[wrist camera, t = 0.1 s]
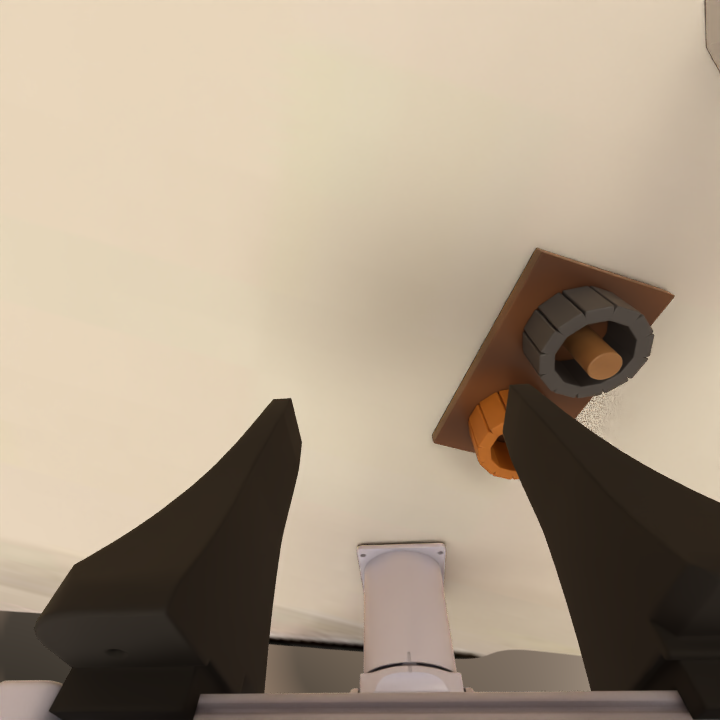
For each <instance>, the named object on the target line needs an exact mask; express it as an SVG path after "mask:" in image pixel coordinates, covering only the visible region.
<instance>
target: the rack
mask: <svg viewBox="0 0 720 720" xmlns="http://www.w3.org/2000/svg"><path fill="white" fill-rule="evenodd" d="M583 286H589V287H590V286H594V287H597V288H600V289H603V290H607V291H610V292H612V293H613V294H615V295H616V296H618V297H619V298H621V299H622V300H623V301H625V302H626V303H628V304H629V305H630V306H632V307H633V308H635V309H636V310H638V311H639V312H640V313H641V314H643V315H644V316H645V318H646V320H647V322H648V323H649V325H650V326H651V325H652V324H653V322H654V321H655V320H656V319H657V318H658V316H659V315H660V314H661V313H662V311H663V310H664V309H665V308H666V306H667V305H668V304H669V303H670V302H671V300H672V299H673V298H674V295H673V294H671V293H669V292H668V291H666V290H663V289H660V288H657V287H654V286H651V285H648V284H645V283H642V282H639V281H636V280H633V279H630V278H627V277H624V276H621V275H618V274H615V273H612V272H609V271H606V270H602V269H599V268H596V267H593V266H590V265H587V264H584V263H581V262H578V261H575V260H572V259H569V258H566V257H563V256H560V255H557V254H554V253H551V252H548V251H545V250H542V249H539V248H536V249H535V251H534V253H533V255H532V257H531V258H530V260H529V262H528V264H527V266H526V267H525V269H524V271H523V273H522V275H521V276H520V278H519V280H518V282H517V284H516V285H515V287H514V289H513V291H512V293H511V294H510V296H509V298H508V300H507V302H506V303H505V305H504V307H503V309H502V311H501V312H500V314H499V316H498V318H497V320H496V321H495V323H494V325H493V327H492V329H491V330H490V332H489V334H488V336H487V337H486V339H485V341H484V343H483V345H482V346H481V348H480V350H479V352H478V354H477V355H476V357H475V359H474V361H473V363H472V364H471V366H470V368H469V370H468V372H467V373H466V375H465V377H464V379H463V381H462V382H461V384H460V386H459V388H458V390H457V391H456V393H455V395H454V397H453V399H452V400H451V402H450V404H449V406H448V408H447V409H446V411H445V413H444V415H443V417H442V418H441V420H440V422H439V424H438V426H437V427H436V429H435V431H434V433H433V435H432V438H433V442H434V443H436V444H440V445H444V446H448V447H452V448H457V449H461V450H465V451H469V452H473V453H476V452H475V449H474V446H473V443H472V440H471V437H470V433H469V424H468V421H469V417H470V416H471V414H472V412H473V411H474V409H475V407H476V406H477V405H480V403H479V402H481V401H482V400H484V399H486V398H487V397H489V396H490V395H492V394H494V393H495V392H497V393H498V394H499V391H502V390H508V389H509V385H516V384H530V385H531V386H533V387H534V388H535V389H537V390H538V391H539V392H541V393H542V394H543V395H544V396H546V397H547V398H548V399H549V400H551V401H552V402H553V403H554V404H556V405H557V406H558V407H559V408H561V409H562V410H563V411H565V412H566V413H567V414H569V415H570V416H571V417H573V418H574V419H575V418H576V417H577V416H578V414H579V413H580V412H581V411H582V409H583V408H584V407H585V406H586V405H587V403H588V402H589V401H590V400H591V398H592V397H593V396H589V397H583V398H577V397H575V398H572V397H568V396H565V395H561V394H557V393H554V392H553V391H551V390H550V389H549V388H548V387H547V386H546V384H545V383H544V382H543V381H542V380H541V378H540V377H539V376H538V374H537V373H536V371H535V370H534V368H533V367H532V365H531V364H530V362H529V361H528V359H527V357H526V356H525V354H524V353H523V352H524V351H523V332H524V331H525V330H524V327H525V325H526V324H527V322H528V320H529V319H530V317H531V316H532V314H533V312H534V311H535V310H539V309H538V306H540V305H541V304H543V303H544V302H545V301H547V300H548V299H550V298H551V297H553V296H554V295H556V294H557V293H561V294H562V292H563V291H564V290H568V289H573V288H578V287H583ZM539 311H540V310H539ZM607 327H608V321H605V322H599V323H594V324H588V325H586V326H584V327H583V328H581V329H580V330H578V331H576V332H575V333H573V334H572V335H570V336H568V337H567V338H566V340H565V341H564V342H563V344H562V345H561V347H560V348H559V350H558V351H557V353H556V354H555V360H557V361H566V360H571V359H575V360H576V361H577V362H578V363H579V365H580V366H581V367H582V368H583V369H584V370H585V372H586V373H587V374H588V375H589V376H590V377H591V378H593V379H597V380H602V379H607V378H610V377H612V376H613V375H615V374H616V373H617V372H618V371H619V370H620V368H621V366H622V358H621V356H620V355H619V354H618V353H617V352H616V351H615V350H614V349H612V348H611V347H610V346H609V345H608V344H607V343H606V342H605V341H604V340H603V339H602V338H603V337H604V336H605V334H606V333H607ZM496 441H499V442H505V439H504V435H503V434H502V435H500V436H499V437H498V438H497V439H496Z"/></svg>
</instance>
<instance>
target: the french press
mask: <svg viewBox="0 0 720 720" xmlns="http://www.w3.org/2000/svg"><path fill="white" fill-rule="evenodd" d="M706 40H707V49H708V51H709V52H710V54H711V56H712V58H713V60H714V61H715V63H716V65H717V67H718V69H719V70H720V0H706Z"/></svg>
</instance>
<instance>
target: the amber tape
mask: <svg viewBox="0 0 720 720" xmlns="http://www.w3.org/2000/svg"><path fill="white" fill-rule="evenodd" d="M508 392H509V389H508V390H502V391H499V394H498V393H497V392H495V393H494V394H492V395H490V396H489V397H487V398H486V399H484V400H482V401H481V402H479V403H480V405H477V406H476V407H475V409H474V411H473V412H472V414H471V416H470V417H469V421H468V424H469V433H470V437H471V440H472V443H473V446H474V449H475V452H476V455H477V459H478V461H479V463H480V465H481V466H482V467H483V468H485V469H486V470H487V471H488V472H489V473H490V474H493V476H497V477H502V478H506V479H512V478H513V479H519V477H518V474H517V472H516V470H515V468H514V466H513V463H512V461H511V458H510V455H509V452H508V449H507V446H506V442H499V441H496V439H497V438H498V437H499V436H500V435H502V434H503V432H502V431H503V425H504V418H505V412H506V405H507V399H508Z"/></svg>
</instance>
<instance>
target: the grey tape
mask: <svg viewBox="0 0 720 720" xmlns="http://www.w3.org/2000/svg"><path fill="white" fill-rule="evenodd" d="M538 309H539V310H540V311H539V310H535V311H534V312H533V314H532V316H531V317H530V319H529V320H528V322H527V324H526V325H525V327H524V330H525V331H524V332H523V351H524V352H523V353H524V354H525V356H526V357H527V359H528V361H529V362H530V364H531V365H532V367H533V368H534V370H535V371H536V373H537V374H538V376H539V377H540V378H541V380H542V381H543V382H544V383H545V384H546V386H547V387H548V388H549V389H550V390H551V391H553V392H554V393H557V394H561V395H565V396H568V397H572V398H575V397H577V398H583V397H589V396H596V395H601V394H602V391H603V392H605V393H607V392H609V391H610V390H612V389H614V388H616V387H618V386H620V385H621V384H623V383H625V382H627V381H628V378H633V376H634V375H635V374H636V373H637V372H638V371H639V369H640V368H641V367H642V366H643V365H644V364H645V362H646V361H647V360H648V358H646V357H649V356H650V353H651V348H652V343H653V338H654V334H652V333H653V330H652V328H651V327H650V325H649V323H648V322H647V320H646V318H645V316H644V315H643V314H641V313H640V312H639V311H638V310H636V309H635V308H633V307H632V306H630V305H629V304H628V303H626V302H625V301H623V300H622V299H621V298H619V297H618V296H616V295H615V294H613V293H612V292H610V291H607V290H603V289H600V288H597V287H594V286H590V287H589V286H583V287H578V288H573V289H568V290H564V291H563V292H562V294H561V293H557V294H556V295H554V296H553V297H551V298H550V299H548V300H547V301H545V302H544V303H543V304H541V305H540V306H538ZM605 321H608V327H607V333H606V334H605V336H604V337H603V338H602V339H603V340H604V341H605V342H606V343H607V344H608V345H609V346H610V347H611V348H612V349H614V350H615V351H616V352H617V353H618V354H619V355H620V356H621V358H622V366H621V368H620V370H619V371H618V372H617V373H616V374H615V375H613V376H612V377H610V378H607V379H602V380H597V379H593V378H591V377H590V376H589V375H588V374H587V373H586V372H585V370H584V369H583V368H582V367H581V366H580V365H579V363H578V362H577V361H576V360H575V359H571V360H566V361H557V360H555V354H556V353H557V351H558V350H559V348H560V347H561V345H562V344H563V342H564V341H565V340H566V338H567V337H568V336H570V335H572V334H573V333H575V332H576V331H578V330H580V329H581V328H583V327H584V326H586V325H588V324H594V323H599V322H605ZM627 377H628V378H627Z"/></svg>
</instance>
